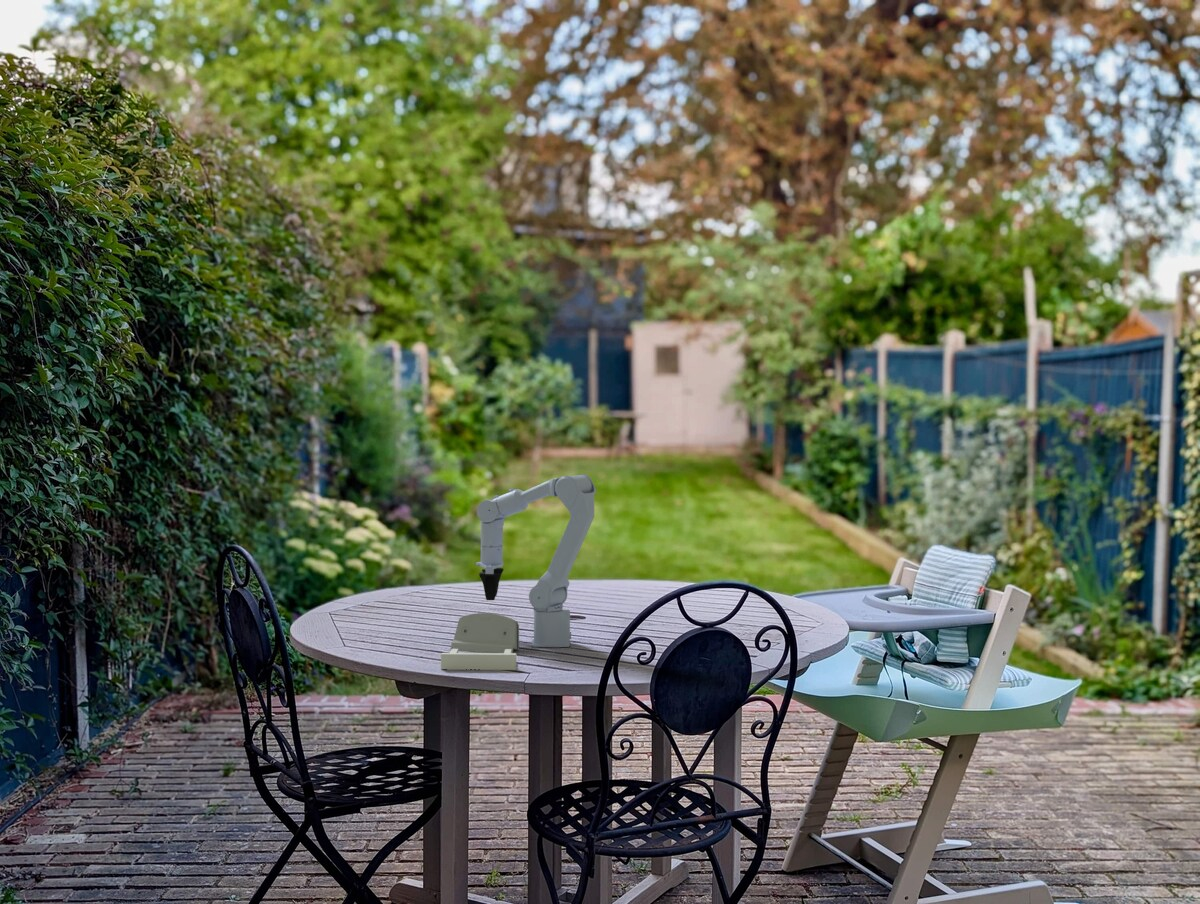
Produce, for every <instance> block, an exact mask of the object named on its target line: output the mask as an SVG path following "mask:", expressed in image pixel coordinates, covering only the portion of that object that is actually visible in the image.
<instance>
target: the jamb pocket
mask: <svg viewBox="0 0 1200 904" xmlns="http://www.w3.org/2000/svg"><path fill="white" fill-rule="evenodd" d="M441 669H447V670H454V671H455V670H456V671H457V670H459V671H460V670H461V671H463V670H464V671H467V670H470V669H472V670H470V671H475V670H474V669H476V671H479V670H478V669H480V671H516V670H517V653H515V652H513V653H512V649H505V651H504V653H487V652H459V650H458V649H451V648H450V651H449V652H441V654H440V670H441ZM466 669H467V670H466Z"/></svg>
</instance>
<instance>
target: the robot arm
mask: <svg viewBox="0 0 1200 904" xmlns="http://www.w3.org/2000/svg"><path fill="white" fill-rule="evenodd" d="M596 493H597V488H596V487H595V484H594V481H593V480H592V479H591V477H590V476H588V475H587V474H583V473H582V474H580V473H579V474H576V475H562V476H561V477H555V478H551V479H549V480H547V481H545V482H542V483H539V484H538V485H535V486H533V487H531V488H528V489H526V490H522V489H519V488H517V489H516V488H510V489H508V492H507V493H504V494H502V495H499V494H498V495H497V494H496V495H494V496H493V499H484V500H483V501H481V502H480V503H479V504H478V505H477V507H476V516H477V518H478V519H479V520H480V561H478V562H477V561H476V564H475V566H476V567H477V566H479V567H481V568H482V569H481V571H480V572H479V573H478V575H479V578H480V579H481V582H482V585H483V591H484V595H485V600H486V601H495V600H496V597H497V595H498V592H499V591H498V590H499V586H500V580H501V576H502V574H503V572H504V568H503V566H504V558H503V557H504V554H503V553H504V545H503V544H504V525H505V524H504V523H505V519H507V518H508V517H511V516H513V515H515V514H519V513H521V512H523V511H526V510H527V508H528V506H529V503H533V502H536V501H538V500H541V499H544V498H547V497H550V496H551V497H554V498H556V497H558V499H559V500H560V502H561V504H563V505H564V507H566V509H567V510H568V513H569V515H570V518H569V520H568V522H567V525H566V527H565V530H564V532H563V534H562V537H561V538H560V541H559V543H558V545H557V548H556V549H555V551H554V554H553V557H552V559H551V562H550V564H549V566H548V569H547V571H546V572H545V573H543V575H542V576H541V577H539V579H538V581H537V583H536V585H534V586H533V587H532V588H531V589H530V591H529V593H528V600H529V603H530V604H531V607H532V608H533V639H532V642H531V647H532V648H533V647H534V648H537V647H538V648H570V647H569V646H570V644H571V642H570V641H571V640H572V632H571V610H570V609H563V607H564V604H565V602H566V601H567V599H568V588H569V586H570V581H569V579H568V576H569V575H570V573H571V570H572V568H573V566H574V563H575V561H576V559H577V558H578V554H579V552H580V551H581V548H582V545H583V543H584V541H585V539H586V537H587V534H588V531H589V529H590V527H591V525H592V523H593V521H594V517H595V494H596Z"/></svg>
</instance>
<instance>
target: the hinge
mask: <svg viewBox="0 0 1200 904" xmlns="http://www.w3.org/2000/svg"><path fill="white" fill-rule="evenodd" d="M451 649H458V651H459V650H460V651H461V652H462V651H463V652H472V653H504V651H505V649H512V653H514V651H517V650H518V651H517V652H519V651H520V625H519V622H518V621H517V620H515V619H512V618H511V617H508V616H505V615H503V614H498V613H493V612H492V613H490V612H478V613H471V614H467V615H464V616H461V617H460V618H459V619H458V622H457V626H456V630H455V633H454V638H453V641H452V642H451V645H450V650H451ZM460 651H459V652H460Z"/></svg>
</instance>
